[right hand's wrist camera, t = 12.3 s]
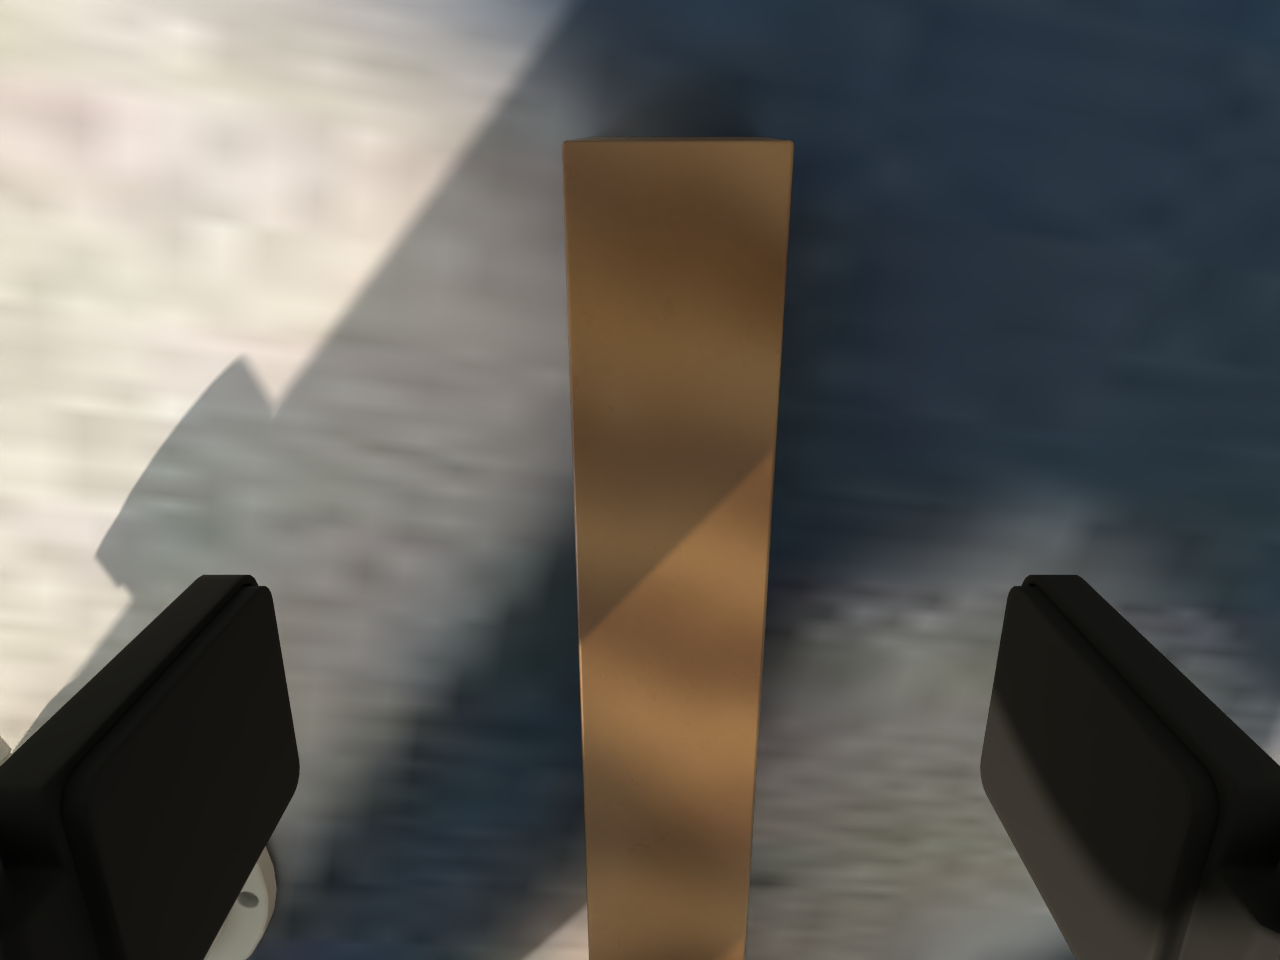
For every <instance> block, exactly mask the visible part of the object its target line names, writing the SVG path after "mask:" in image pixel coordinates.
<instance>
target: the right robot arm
mask: <svg viewBox="0 0 1280 960" xmlns="http://www.w3.org/2000/svg"><path fill="white" fill-rule="evenodd" d="M11 750H12V749H11V748H10V747H9V746H8V744H7V743H6V742H5V741H4V740H3V739H2V738H1V736H0V960H246V959H247V958H248V957H249V956H250V955H251V954H252V953H253V952H254V950H255V948H256V946H257V945H258V943H259V941H260V940H261V938H262V936H263V934H264V932H265V930H266V928H267V926H268V924H269V921H270V919H271V917H272V914H273V912H274V908H275V900H276V892H277V887H276V879H275V872H274V866H273V864H272V861H271V859H270V856H269V853H268V851H267V848H266V844H267V842H268V841H269V839H270V837H271V835H272V833H273V831H274V830H275V828H276V826H277V824H278V822H279V820H280V819H281V817H282V815H283V813H284V811H285V809H286V807H287V806H288V804H289V802H290V800H291V798H292V796H293V795H294V792H295V790H296V787H297V784H298V779H299V768H300V766H299V757H298V751H297V745H296V738H295V732H294V726H293V720H292V714H291V708H290V702H289V696H288V690H287V684H286V677H285V671H284V665H283V659H282V653H281V647H280V641H279V635H278V629H277V623H276V616H275V610H274V604H273V599H272V595H271V592H270V590H269V588H267V587H266V586H258V584H257V582H256V580H255V578H254V577H252V576H251V575H202V576H201V577H199V578H198V579H197V580H195V581H194V582H193V583H192V584H191V585H190V586H189V587H188V588H187V589H186V590H185V591H184V592H183V593H182V594H181V595H180V596H179V597H178V598H177V599H175V600H174V601H173V602H172V603H171V604H170V605H169V606H168V607H167V608H166V609H165V610H164V611H163V612H162V613H161V614H160V615H159V616H158V617H157V618H155V619H154V620H153V621H152V622H151V623H150V624H149V625H148V626H147V627H146V628H145V629H144V630H143V631H142V632H141V633H140V634H139V635H138V636H137V637H136V638H134V639H133V640H132V641H131V642H130V643H129V644H128V645H127V646H126V647H125V648H124V649H123V650H122V651H121V652H120V653H119V654H118V655H117V656H116V657H114V658H113V659H112V660H111V661H110V662H109V663H108V664H107V665H106V666H105V667H104V668H103V669H102V670H101V671H100V672H99V673H98V674H97V675H96V676H94V677H93V678H92V679H91V680H90V681H89V682H88V683H87V684H86V685H85V686H84V687H83V688H82V689H81V690H80V691H79V692H78V693H77V694H76V695H75V696H73V697H72V698H71V699H70V700H69V701H68V702H67V703H66V704H65V705H64V706H63V707H62V708H61V709H60V710H59V711H58V712H57V713H56V714H55V715H53V716H52V717H51V718H50V719H49V720H48V721H47V722H46V723H45V724H44V725H43V726H42V727H41V728H40V729H39V730H38V731H37V732H36V733H35V734H33V735H32V736H31V737H30V738H29V739H28V740H27V741H26V742H25V743H24V744H23V745H22V746H21V747H20V748H19V749H18V750H17V751H16V752H15V753H14V754H11V753H10V751H11ZM980 768H981V779H982V784H983V787H984V790H985V792H986V795H987V796H988V798H989V800H990V802H991V804H992V806H993V807H994V809H995V811H996V813H997V815H998V817H999V819H1000V820H1001V822H1002V824H1003V826H1004V828H1005V830H1006V831H1007V833H1008V835H1009V837H1010V839H1011V841H1012V842H1013V844H1014V846H1015V848H1016V850H1017V852H1018V853H1019V855H1020V857H1021V859H1022V861H1023V863H1024V864H1025V866H1026V868H1027V870H1028V872H1029V874H1030V875H1031V877H1032V879H1033V881H1034V883H1035V885H1036V887H1037V888H1038V890H1039V892H1040V894H1041V896H1042V898H1043V899H1044V901H1045V903H1046V905H1047V907H1048V909H1049V910H1050V912H1051V914H1052V916H1053V918H1054V920H1055V921H1056V923H1057V925H1058V927H1059V929H1060V931H1061V932H1062V934H1063V936H1064V938H1065V940H1066V942H1067V943H1068V945H1069V947H1070V949H1071V951H1072V953H1073V955H1074V956H1075V958H1076V960H1280V766H1279V765H1278V764H1277V763H1276V762H1275V761H1274V760H1273V759H1272V758H1271V757H1270V756H1269V755H1268V754H1266V753H1265V752H1264V751H1263V750H1262V749H1261V748H1260V747H1259V746H1258V745H1257V744H1256V743H1255V742H1254V741H1253V740H1252V739H1251V738H1250V737H1249V736H1248V735H1247V734H1245V733H1244V732H1243V731H1242V730H1241V729H1240V728H1239V727H1238V726H1237V725H1236V724H1235V723H1234V722H1233V721H1232V720H1231V719H1230V718H1229V717H1228V716H1227V715H1225V714H1224V713H1223V712H1222V711H1221V710H1220V709H1219V708H1218V707H1217V706H1216V705H1215V704H1214V703H1213V702H1212V701H1211V700H1210V699H1209V698H1208V697H1207V696H1205V695H1204V694H1203V693H1202V692H1201V691H1200V690H1199V689H1198V688H1197V687H1196V686H1195V685H1194V684H1193V683H1192V682H1191V681H1190V680H1189V679H1188V678H1187V677H1186V676H1184V675H1183V674H1182V673H1181V672H1180V671H1179V670H1178V669H1177V668H1176V667H1175V666H1174V665H1173V664H1172V663H1171V662H1170V661H1169V660H1168V659H1167V658H1166V657H1164V656H1163V655H1162V654H1161V653H1160V652H1159V651H1158V650H1157V649H1156V648H1155V647H1154V646H1153V645H1152V644H1151V643H1150V642H1149V641H1148V640H1147V639H1146V638H1144V637H1143V636H1142V635H1141V634H1140V633H1139V632H1138V631H1137V630H1136V629H1135V628H1134V627H1133V626H1132V625H1131V624H1130V623H1129V622H1128V621H1127V620H1126V619H1125V618H1123V617H1122V616H1121V615H1120V614H1119V613H1118V612H1117V611H1116V610H1115V609H1114V608H1113V607H1112V606H1111V605H1110V604H1109V603H1108V602H1107V601H1106V600H1105V599H1103V598H1102V597H1101V596H1100V595H1099V594H1098V593H1097V592H1096V591H1095V590H1094V589H1093V588H1092V587H1091V586H1090V585H1089V584H1088V583H1087V582H1086V581H1085V580H1083V579H1082V578H1081V577H1079V576H1078V575H1029V576H1028V577H1026V578H1025V580H1024V582H1023V584H1022V586H1014V587H1013V588H1011V590H1010V592H1009V595H1008V599H1007V604H1006V610H1005V616H1004V623H1003V629H1002V635H1001V641H1000V647H999V653H998V659H997V665H996V671H995V677H994V684H993V690H992V696H991V702H990V708H989V714H988V720H987V726H986V732H985V738H984V745H983V751H982V757H981V766H980Z"/></svg>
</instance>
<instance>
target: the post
mask: <svg viewBox="0 0 1280 960" xmlns="http://www.w3.org/2000/svg"><path fill="white" fill-rule="evenodd" d="M562 157H563V187H564V217H565V247H566V277H567V307H568V337H569V368H570V398H571V428H572V458H573V488H574V518H575V549H576V579H577V609H578V639H579V669H580V699H581V729H582V760H583V790H584V820H585V850H586V880H587V910H588V940H589V960H745V952H746V935H747V919H748V902H749V886H750V869H751V853H752V836H753V820H754V803H755V786H756V770H757V753H758V737H759V720H760V704H761V687H762V671H763V654H764V638H765V621H766V604H767V588H768V571H769V555H770V538H771V522H772V505H773V489H774V472H775V455H776V439H777V422H778V406H779V389H780V373H781V356H782V340H783V323H784V307H785V290H786V273H787V257H788V240H789V224H790V207H791V191H792V174H793V158H794V143H793V142H792V141H790V140H782V139H774V138H766V137H589V138H582V139H575V140H568V141H565V142H563V144H562Z"/></svg>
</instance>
